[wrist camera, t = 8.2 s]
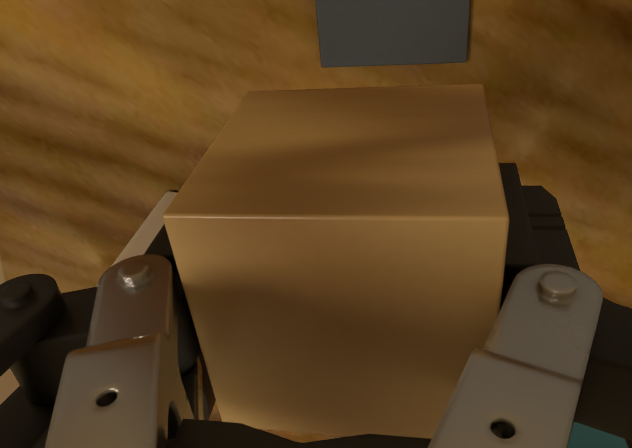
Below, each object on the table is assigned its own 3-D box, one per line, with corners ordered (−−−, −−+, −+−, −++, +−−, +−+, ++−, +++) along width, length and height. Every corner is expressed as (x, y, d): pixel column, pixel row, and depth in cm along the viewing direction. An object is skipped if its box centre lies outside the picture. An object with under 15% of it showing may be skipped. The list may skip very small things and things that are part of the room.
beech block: (483, 82, 12) (510, 217, 8) (470, 274, 14) (485, 448, 10) (247, 90, 13) (160, 214, 9) (277, 269, 15) (222, 427, 11)
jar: (117, 209, 36) (1, 349, 27) (222, 168, 33) (134, 308, 24) (193, 310, 40) (117, 463, 31) (294, 281, 37) (244, 441, 28)
